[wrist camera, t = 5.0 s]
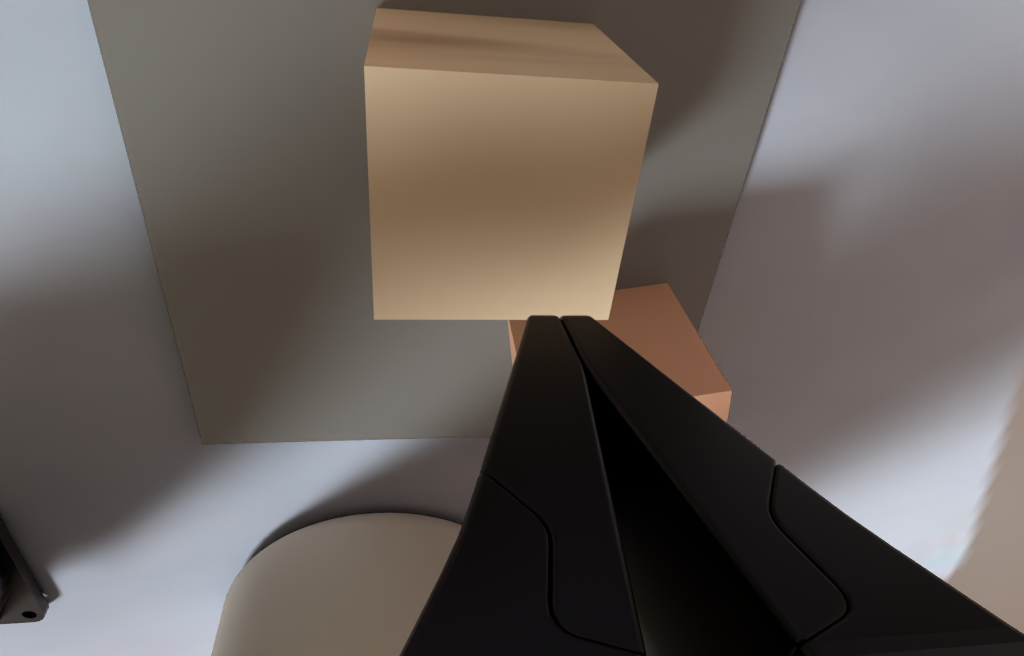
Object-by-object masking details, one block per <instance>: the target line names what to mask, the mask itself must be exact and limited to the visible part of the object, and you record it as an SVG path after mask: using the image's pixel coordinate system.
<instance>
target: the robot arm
mask: <svg viewBox="0 0 1024 656" xmlns="http://www.w3.org/2000/svg"><path fill="white" fill-rule="evenodd" d="M775 465H776V462H775V460H774V459H773V458H771V457H770V456H769V455H768V454H766V453H765V452H764V451H762V450H761V449H760V448H759V447H757V446H756V445H755V444H753V443H752V442H751V441H750V440H748V439H747V438H746V437H745V436H743V435H742V434H741V433H739V432H738V431H737V430H736V429H734V428H733V427H732V426H730V425H729V424H728V423H727V422H725V421H724V420H723V419H721V418H720V417H719V416H718V415H716V414H715V413H714V412H713V411H711V410H710V409H709V408H707V407H706V406H705V405H704V404H702V403H701V402H700V401H698V400H697V399H696V398H695V397H693V396H692V395H691V394H690V393H688V392H687V391H686V390H684V389H683V388H682V387H681V386H679V385H678V384H677V383H675V382H674V381H673V380H672V379H670V378H669V377H668V376H666V375H665V374H664V373H663V372H661V371H660V370H659V369H658V368H656V367H655V366H654V365H652V364H651V363H650V362H649V361H647V360H646V359H645V358H643V357H642V356H641V355H640V354H638V353H637V352H636V351H635V350H633V349H632V348H631V347H629V346H628V345H627V344H626V343H624V342H623V341H622V340H620V339H619V338H618V337H617V336H615V335H614V334H613V333H611V332H610V331H609V330H608V329H606V328H605V327H604V326H603V325H601V324H600V323H599V322H597V321H596V320H595V319H594V318H592V317H590V316H587V315H564V316H562V317H560V319H559V317H557V316H555V315H531V316H529V317H528V319H527V321H526V325H525V328H524V331H523V334H522V338H521V341H520V344H519V347H518V351H517V354H516V357H515V360H514V364H513V367H512V370H511V373H510V376H509V380H508V383H507V386H506V389H505V393H504V396H503V399H502V402H501V406H500V409H499V412H498V415H497V418H496V422H495V425H494V428H493V431H492V435H491V438H490V441H489V444H488V448H487V451H486V454H485V457H484V461H483V464H482V467H481V470H480V476H479V477H478V479H477V482H476V485H475V488H474V492H473V495H472V498H471V501H470V504H469V507H468V510H467V512H466V515H465V518H464V521H463V523H462V526H461V529H460V532H459V535H458V537H457V539H456V541H455V543H454V545H453V548H452V550H451V552H450V554H449V556H448V559H447V561H446V563H445V565H444V567H443V570H442V572H441V574H440V576H439V578H438V580H437V582H436V584H435V586H434V588H433V590H432V592H431V594H430V596H429V598H428V600H427V602H426V604H425V606H424V608H423V610H422V612H421V614H420V616H419V618H418V620H417V622H416V624H415V626H414V628H413V630H412V632H411V634H410V635H409V637H408V639H407V641H406V643H405V645H404V647H403V649H402V651H401V653H400V655H399V656H1024V634H1023V633H1021V632H1020V631H1018V630H1017V629H1015V628H1013V627H1012V626H1010V625H1009V624H1007V623H1006V622H1004V621H1003V620H1001V619H1000V618H998V617H997V616H995V615H994V614H992V613H991V612H989V611H988V610H986V609H985V608H983V607H982V606H980V605H979V604H977V603H976V602H974V601H973V600H971V599H970V598H968V597H967V596H965V595H964V594H962V593H961V592H960V591H958V590H957V589H955V588H954V587H952V586H951V585H949V584H948V583H946V582H945V581H943V580H942V579H940V578H939V577H937V576H936V575H934V574H933V573H931V572H930V571H928V570H927V569H925V568H924V567H922V566H921V565H919V564H918V563H916V562H915V561H913V560H912V559H910V558H909V557H907V556H906V555H904V554H903V553H901V552H900V551H898V550H897V549H895V548H894V547H892V546H891V545H890V544H888V543H887V542H885V541H884V540H882V539H881V538H879V537H878V536H877V535H875V534H874V533H872V532H871V531H869V530H868V529H867V528H865V527H864V526H862V525H861V524H859V523H858V522H856V521H855V520H854V519H852V518H851V517H849V516H848V515H846V514H845V513H844V512H842V511H841V510H840V509H838V508H837V507H836V506H834V505H833V504H832V503H830V502H829V501H828V500H826V499H825V498H824V497H822V496H821V495H820V494H818V493H817V492H816V491H814V490H813V489H812V488H810V487H809V486H808V485H806V484H805V483H804V482H802V481H801V480H800V479H799V478H797V477H796V476H795V475H793V474H792V473H791V472H790V471H788V470H787V469H786V468H784V467H783V466H782V465H776V466H775ZM48 608H49V605H48V603H47V601H46V599H45V597H44V596H43V594H42V592H41V590H40V589H39V587H38V585H37V583H36V581H35V580H34V578H33V576H32V574H31V573H30V571H29V569H28V567H27V566H26V564H25V562H24V560H23V559H22V557H21V555H20V553H19V551H18V550H17V548H16V546H15V544H14V543H13V541H12V539H11V537H10V536H9V534H8V532H7V530H6V528H5V527H4V525H3V523H2V521H1V520H0V624H10V623H26V622H37V621H40V620H42V619H43V618H44V616H45V614H46V612H47V610H48Z"/></svg>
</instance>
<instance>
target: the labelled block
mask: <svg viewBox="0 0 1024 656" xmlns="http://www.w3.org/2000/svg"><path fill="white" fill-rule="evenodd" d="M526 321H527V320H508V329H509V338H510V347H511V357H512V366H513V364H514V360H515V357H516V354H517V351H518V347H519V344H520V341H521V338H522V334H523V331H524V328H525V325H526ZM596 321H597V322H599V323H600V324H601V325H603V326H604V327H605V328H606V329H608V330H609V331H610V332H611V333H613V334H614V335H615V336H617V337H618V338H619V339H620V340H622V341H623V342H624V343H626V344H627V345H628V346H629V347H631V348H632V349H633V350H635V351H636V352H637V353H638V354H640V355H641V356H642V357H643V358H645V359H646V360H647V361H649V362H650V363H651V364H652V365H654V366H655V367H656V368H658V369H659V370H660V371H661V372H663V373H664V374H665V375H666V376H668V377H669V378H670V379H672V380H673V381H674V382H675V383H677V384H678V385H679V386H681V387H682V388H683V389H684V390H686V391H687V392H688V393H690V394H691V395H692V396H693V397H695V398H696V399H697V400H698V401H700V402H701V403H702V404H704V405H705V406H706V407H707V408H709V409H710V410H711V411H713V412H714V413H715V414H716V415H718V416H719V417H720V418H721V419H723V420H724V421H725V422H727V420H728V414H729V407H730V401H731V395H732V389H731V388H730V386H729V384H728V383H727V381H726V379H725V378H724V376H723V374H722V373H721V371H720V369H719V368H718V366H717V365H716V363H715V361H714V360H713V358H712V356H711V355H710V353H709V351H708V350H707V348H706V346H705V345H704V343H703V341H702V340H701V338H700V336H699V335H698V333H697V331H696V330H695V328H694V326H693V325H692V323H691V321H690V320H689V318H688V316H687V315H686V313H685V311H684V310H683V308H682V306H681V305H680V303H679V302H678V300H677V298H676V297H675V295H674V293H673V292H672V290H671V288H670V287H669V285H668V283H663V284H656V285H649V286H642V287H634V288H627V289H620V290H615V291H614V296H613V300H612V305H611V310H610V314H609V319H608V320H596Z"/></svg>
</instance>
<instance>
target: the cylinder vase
mask: <svg viewBox="0 0 1024 656" xmlns="http://www.w3.org/2000/svg"><path fill="white" fill-rule="evenodd" d="M461 526H462V525H460V524H457V523H454V522H451V521H447V520H444V519H440V518H435V517H430V516H424V515H417V514H408V513H368V514H358V515H351V516H345V517H340V518H335V519H331V520H327V521H323V522H319V523H316V524H313V525H310V526H307V527H305V528H302V529H299V530H297V531H295V532H293V533H290V534H288V535H286V536H284V537H282V538H281V539H279V540H277V541H275V542H274V543H272V544H271V545H269V546H268V547H266V548H265V549H263V550H262V551H261V552H259V553H258V554H257V555H256V556H255V557H254V558H252V559H251V560H250V561H249V562H248V563H247V564H246V565H245V567H244V568H243V569H242V570H241V571H240V573H239V574H238V575H237V577H236V578H235V580H234V581H233V583H232V585H231V587H230V589H229V591H228V593H227V596H226V599H225V602H224V606H223V610H222V614H221V618H220V622H219V626H218V630H217V634H216V638H215V642H214V646H213V651H212V655H211V656H399V655H400V653H401V651H402V649H403V647H404V645H405V643H406V641H407V639H408V637H409V635H410V634H411V632H412V630H413V628H414V626H415V624H416V622H417V620H418V618H419V616H420V614H421V612H422V610H423V608H424V606H425V604H426V602H427V600H428V598H429V596H430V594H431V592H432V590H433V588H434V586H435V584H436V582H437V580H438V578H439V576H440V574H441V572H442V570H443V567H444V565H445V563H446V561H447V559H448V556H449V554H450V552H451V550H452V548H453V545H454V543H455V541H456V539H457V537H458V535H459V532H460V529H461Z"/></svg>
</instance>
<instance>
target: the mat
mask: <svg viewBox="0 0 1024 656" xmlns="http://www.w3.org/2000/svg"><path fill="white" fill-rule="evenodd" d="M87 1H88V5H89V9H90V12H91V16H92V20H93V24H94V28H95V32H96V36H97V39H98V43H99V47H100V51H101V55H102V59H103V62H104V66H105V70H106V74H107V78H108V82H109V86H110V89H111V93H112V97H113V101H114V105H115V109H116V113H117V116H118V120H119V124H120V128H121V132H122V136H123V139H124V143H125V147H126V151H127V155H128V159H129V163H130V166H131V170H132V174H133V178H134V182H135V186H136V190H137V193H138V197H139V201H140V205H141V209H142V213H143V216H144V220H145V224H146V228H147V232H148V236H149V240H150V243H151V247H152V251H153V255H154V259H155V263H156V267H157V270H158V274H159V278H160V282H161V286H162V290H163V294H164V297H165V301H166V305H167V309H168V313H169V317H170V320H171V324H172V328H173V332H174V336H175V340H176V344H177V347H178V351H179V355H180V359H181V363H182V367H183V371H184V374H185V378H186V382H187V386H188V390H189V394H190V397H191V401H192V405H193V409H194V413H195V417H196V421H197V424H198V428H199V432H200V436H201V440H202V444H231V443H268V442H306V441H343V440H380V439H418V438H455V437H491V435H492V431H493V428H494V425H495V422H496V418H497V415H498V412H499V409H500V406H501V402H502V399H503V396H504V393H505V389H506V386H507V383H508V380H509V376H510V373H511V370H512V367H513V366H512V357H511V347H510V338H509V329H508V320H374V307H373V282H372V257H371V231H370V206H369V181H368V155H367V130H366V104H365V79H364V64H365V59H366V54H367V50H368V45H369V41H370V36H371V31H372V27H373V22H374V17H375V13H376V8H386V9H399V10H412V11H426V12H439V13H453V14H466V15H480V16H493V17H507V18H520V19H533V20H547V21H560V22H574V23H587V24H594V25H595V26H596V27H597V28H598V29H599V30H601V31H602V32H603V33H604V34H605V35H606V36H607V37H608V38H609V39H610V40H611V41H613V42H614V43H615V44H616V45H617V46H618V47H619V48H620V49H621V50H622V51H623V52H625V53H626V54H627V55H628V56H629V57H630V58H631V59H632V60H633V61H634V62H635V63H637V64H638V65H639V66H640V67H641V68H642V69H643V70H644V71H645V72H646V73H648V74H649V75H650V76H651V77H652V78H653V79H654V80H655V81H656V82H657V83H658V84H659V85H658V90H657V95H656V99H655V104H654V109H653V113H652V118H651V123H650V127H649V132H648V137H647V141H646V146H645V151H644V155H643V160H642V165H641V169H640V174H639V179H638V183H637V188H636V193H635V197H634V202H633V207H632V211H631V216H630V221H629V225H628V230H627V235H626V240H625V244H624V249H623V254H622V258H621V263H620V268H619V272H618V277H617V282H616V286H615V290H620V289H627V288H634V287H642V286H649V285H656V284H663V283H668V285H669V287H670V288H671V290H672V292H673V293H674V295H675V297H676V298H677V300H678V302H679V303H680V305H681V306H682V308H683V310H684V311H685V313H686V315H687V316H688V318H689V320H690V321H691V323H692V325H693V326H694V328H695V330H696V331H698V328H699V324H700V321H701V318H702V315H703V312H704V308H705V305H706V302H707V299H708V296H709V293H710V289H711V286H712V283H713V280H714V277H715V273H716V270H717V267H718V264H719V261H720V258H721V254H722V251H723V248H724V245H725V242H726V238H727V235H728V232H729V229H730V226H731V223H732V219H733V216H734V213H735V210H736V207H737V203H738V200H739V197H740V194H741V191H742V188H743V184H744V181H745V178H746V175H747V172H748V168H749V165H750V162H751V159H752V156H753V153H754V149H755V146H756V143H757V140H758V137H759V133H760V130H761V127H762V124H763V121H764V117H765V114H766V111H767V108H768V105H769V102H770V98H771V95H772V92H773V89H774V86H775V82H776V79H777V76H778V73H779V70H780V67H781V63H782V60H783V57H784V54H785V51H786V47H787V44H788V41H789V38H790V35H791V32H792V28H793V25H794V22H795V19H796V16H797V12H798V9H799V6H800V3H801V0H87Z"/></svg>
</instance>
